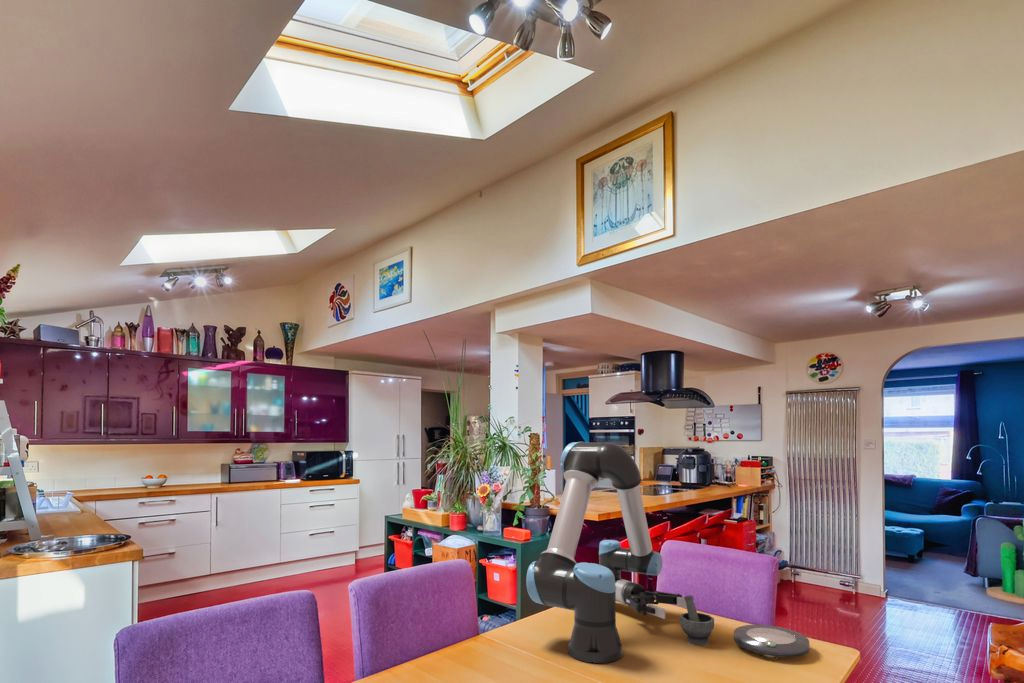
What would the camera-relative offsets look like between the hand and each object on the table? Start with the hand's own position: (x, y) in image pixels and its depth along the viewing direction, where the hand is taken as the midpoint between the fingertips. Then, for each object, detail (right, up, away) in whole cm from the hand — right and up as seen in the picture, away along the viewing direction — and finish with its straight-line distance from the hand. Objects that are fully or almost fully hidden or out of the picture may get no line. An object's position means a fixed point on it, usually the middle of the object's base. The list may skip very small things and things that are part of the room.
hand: (679, 610), depth 186 cm
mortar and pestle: (+3, -6, -7) cm, 10 cm away
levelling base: (+23, -5, -13) cm, 27 cm away
